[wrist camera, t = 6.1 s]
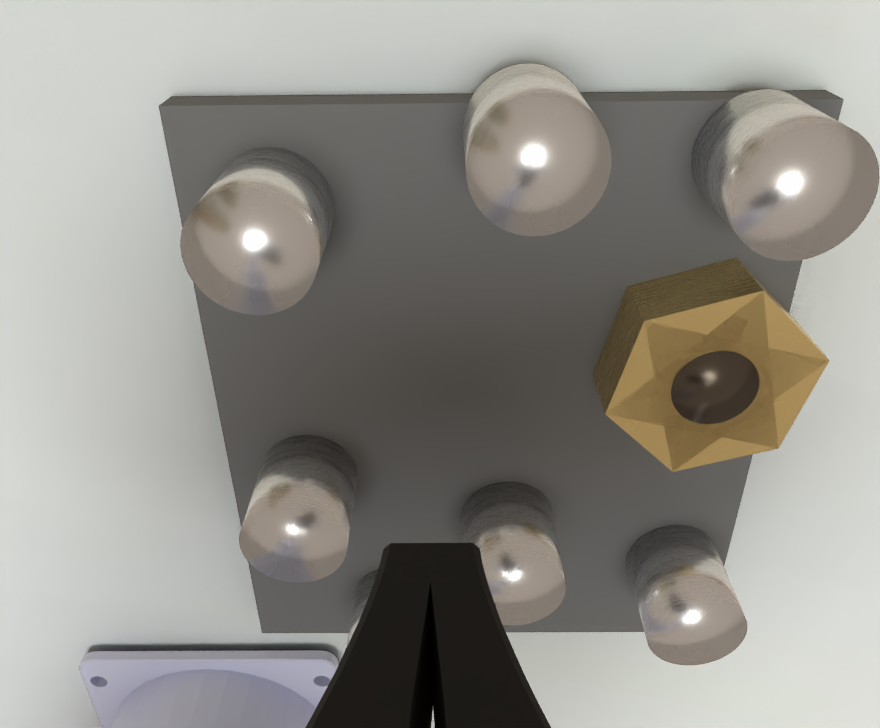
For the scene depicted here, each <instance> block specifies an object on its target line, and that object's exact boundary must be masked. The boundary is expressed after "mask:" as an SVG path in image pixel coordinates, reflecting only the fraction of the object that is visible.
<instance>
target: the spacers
mask: <svg viewBox="0 0 880 728" xmlns="http://www.w3.org/2000/svg"><path fill="white" fill-rule="evenodd" d="M463 142H464V154H465V167H466V179H467V184H468V188H469V191H470V194H471V196H472V198H473V200H474V202H475V204H476V206H477V207H478V209H479V210H480V211H481V212H482V214H483V215H484V216H485V217H486V218H487V219H488V220H490V221H491V222H492V223H493V224H495V225H496V226H498V227H500V228H502V229H504V230H506V231H508V232H511V233H514V234H518V235H523V236H545V235H550V234H554V233H557V232H560V231H563V230H565V229H567V228H569V227H571V226H573V225H574V224H576V223H578V222H579V221H580V220H582V219H583V218H584V217H585V216H586V215H587V214H588V213H589V212H590V211H591V210H592V209H593V208H594V207H595V206H596V204H597V203H598V201H599V200H600V198H601V197H602V195H603V193H604V191H605V189H606V186H607V183H608V180H609V177H610V171H611V159H612V158H611V148H610V144H609V139H608V137H607V134H606V132H605V130H604V128H603V126H602V124H601V123H600V121H599V120H598V118H597V117H596V115H595V114H594V113H593V111H592V110H591V108H590V107H589V105H588V104H587V102H586V101H585V100H584V98H583V97H582V95H581V94H580V92H579V91H578V90H577V88H576V87H575V86H574V84H573V83H572V82H571V81H570V80H569V79H568V78H567V77H566V76H564V75H563V74H562V73H560V72H558V71H557V70H555V69H553V68H550V67H547V66H544V65H539V64H530V63H526V64H517V65H513V66H509V67H506V68H504V69H502V70H500V71H498V72H496V73H494V74H493V75H491V76H490V77H489V78H487V79H486V80H485V81H484V82H483V83H482V84H481V85H480V86H479V87H478V89H477V90H476V91H475V93H474V94H473V96H472V97H471V99H470V101H469V103H468V106H467V108H466V111H465V115H464V120H463ZM691 170H692V175H693V179H694V182H695V184H696V186H697V188H698V190H699V191H700V192H701V194H702V195H703V196H704V197H705V199H706V200H707V201H708V202H709V203H710V204H711V205H712V207H713V208H714V209H715V210H716V211H717V212H718V213H719V215H720V216H721V217H722V218H723V219H724V220H725V221H726V223H727V224H728V225H729V226H730V227H731V228H732V229H733V231H734V232H735V233H736V234H737V235H738V236H739V238H740V239H741V240H742V241H743V242H744V243H745V244H746V245H747V246H748V247H749V248H750V249H751V250H753V251H754V252H756V253H758V254H760V255H762V256H764V257H767V258H770V259H774V260H780V261H795V260H802V259H807V258H811V257H814V256H817V255H819V254H822V253H824V252H826V251H828V250H830V249H832V248H834V247H835V246H837V245H838V244H840V243H841V242H842V241H844V240H845V239H846V238H847V237H849V236H850V235H851V234H852V233H853V232H854V231H855V230H856V229H857V228H858V226H859V225H860V224H861V223H862V221H863V220H864V219H865V217H866V215H867V214H868V212H869V210H870V208H871V206H872V204H873V202H874V199H875V197H876V194H877V189H878V184H879V166H878V162H877V158H876V155H875V153H874V151H873V149H872V147H871V146H870V144H869V143H868V142H867V140H866V139H865V138H864V137H863V136H861V135H860V134H859V133H858V132H856V131H854V130H853V129H851V128H849V127H847V126H846V125H844V124H842V123H840V122H838V121H837V120H835V119H833V118H831V117H830V116H828V115H826V114H824V113H823V112H821V111H819V110H817V109H815V108H814V107H812V106H810V105H808V104H807V103H805V102H803V101H801V100H800V99H798V98H796V97H794V96H792V95H791V94H789V93H786V92H783V91H779V90H773V89H761V90H754V91H749V92H746V93H743V94H740V95H738V96H736V97H734V98H732V99H731V100H729V101H727V102H726V103H724V104H723V105H722V106H720V107H719V108H718V109H717V110H716V111H715V112H714V113H713V114H712V115H711V116H710V117H709V118H708V119H707V121H706V122H705V123H704V125H703V126H702V128H701V129H700V131H699V133H698V135H697V137H696V140H695V143H694V146H693V150H692V157H691ZM334 217H335V203H334V197H333V194H332V190H331V188H330V186H329V184H328V182H327V180H326V179H325V177H324V175H323V174H322V173H321V172H320V170H319V169H318V168H317V167H316V166H315V165H314V164H313V163H311V162H310V161H309V160H308V159H306V158H304V157H303V156H301V155H299V154H297V153H295V152H293V151H290V150H287V149H282V148H277V147H262V148H257V149H252V150H250V151H247V152H245V153H243V154H241V155H239V156H238V157H237V158H235V159H234V160H233V161H232V162H231V163H230V164H229V165H228V166H227V167H226V169H225V170H224V171H223V172H222V173H221V175H220V176H219V177H218V178H217V180H216V181H215V182H214V183H213V185H212V186H211V187H210V188H209V190H208V191H207V192H206V193H205V194H204V196H203V197H202V198H201V199H200V201H199V202H198V203H197V204H196V206H195V207H194V208H193V209H192V211H191V212H190V214H189V215H188V217H187V219H186V221H185V223H184V226H183V229H182V233H181V254H182V259H183V262H184V265H185V267H186V270H187V272H188V274H189V275H190V277H191V279H192V280H193V282H194V283H195V284H196V286H197V287H198V288H199V289H200V290H201V291H202V292H203V293H204V294H205V295H206V296H207V297H209V298H210V299H211V300H213V301H214V302H216V303H217V304H219V305H221V306H223V307H225V308H227V309H230V310H232V311H235V312H239V313H243V314H249V315H267V314H272V313H277V312H280V311H283V310H285V309H287V308H289V307H291V306H293V305H294V304H296V303H297V302H298V301H299V300H300V299H302V298H303V297H304V295H305V294H306V293H307V292H308V290H309V289H310V287H311V285H312V283H313V281H314V279H315V276H316V273H317V270H318V267H319V264H320V261H321V258H322V255H323V252H324V250H325V247H326V244H327V241H328V238H329V235H330V232H331V229H332V226H333V222H334ZM357 479H358V472H357V467H356V464H355V462H354V460H353V458H352V457H351V455H350V454H349V453H348V452H347V451H346V450H345V449H344V448H343V447H342V446H340V445H339V444H337V443H336V442H334V441H332V440H329V439H327V438H324V437H320V436H315V435H296V436H291V437H288V438H285V439H283V440H281V441H279V442H277V443H276V444H275V445H273V446H272V447H271V448H270V449H269V451H268V452H267V453H266V455H265V457H264V460H263V463H262V466H261V469H260V472H259V475H258V479H257V482H256V485H255V488H254V491H253V494H252V497H251V500H250V503H249V506H248V510H247V513H246V516H245V519H244V522H243V525H242V528H241V532H240V538H239V541H240V547H241V550H242V552H243V555H244V556H245V558H246V559H247V561H248V562H249V563H250V564H251V565H252V566H253V567H254V568H256V569H257V570H259V571H260V572H262V573H263V574H265V575H267V576H269V577H272V578H275V579H278V580H282V581H286V582H297V583H301V582H311V581H315V580H319V579H322V578H324V577H326V576H328V575H330V574H332V573H333V572H335V571H336V570H337V569H338V568H339V567H340V565H341V564H342V563H343V561H344V559H345V556H346V552H347V546H348V539H349V533H350V526H351V519H352V512H353V506H354V499H355V492H356V486H357ZM461 543H474V544H475V545H476V546H477V547H479V548H480V552H481V558H482V563H483V567H484V571H485V575H486V578H487V582H488V585H489V588H490V591H491V594H492V597H493V600H494V603H495V606H496V609H497V611H498V614H499V617H500V619H501V622H502V625H512V626H513V625H524V624H529V623H533V622H536V621H538V620H541V619H543V618H545V617H546V616H548V615H550V614H551V613H552V612H553V611H555V610H556V609H557V608H558V606H559V605H560V604H561V602H562V600H563V598H564V596H565V591H566V585H565V579H564V574H563V568H562V562H561V557H560V551H559V546H558V540H557V534H556V529H555V523H554V517H553V512H552V507H551V504H550V502H549V500H548V499H547V497H546V496H545V495H544V494H543V493H542V492H541V491H539V490H538V489H536V488H534V487H533V486H530V485H528V484H524V483H521V482H513V481H505V482H497V483H493V484H489V485H487V486H484V487H482V488H480V489H478V490H477V491H475V492H474V493H473V494H472V495H471V496H470V497H469V498H468V499H467V500H466V502H465V503H464V506H463V508H462V511H461ZM626 565H627V569H628V573H629V577H630V580H631V584H632V588H633V591H634V595H635V599H636V602H637V606H638V609H639V613H640V617H641V620H642V624H643V628H644V631H645V635H646V639H647V642H648V645H649V647H650V649H651V651H652V652H653V653H654V654H655V655H656V656H658V657H659V658H661V659H663V660H665V661H667V662H670V663H674V664H679V665H699V664H705V663H709V662H712V661H715V660H718V659H720V658H722V657H724V656H726V655H728V654H729V653H731V652H732V651H733V650H735V649H736V648H737V647H738V646H739V645H740V644H741V642H742V641H743V639H744V638H745V635H746V632H747V621H746V618H745V616H744V614H743V611H742V609H741V606H740V604H739V602H738V599H737V597H736V594H735V592H734V590H733V587H732V585H731V583H730V580H729V578H728V575H727V573H726V571H725V568H724V566H723V563H722V561H721V559H720V556H719V554H718V552H717V549H716V547H715V544H714V542H713V540H712V539H711V537H710V536H709V535H708V534H706V533H705V532H704V531H702V530H700V529H698V528H696V527H692V526H688V525H667V526H662V527H659V528H656V529H653V530H651V531H649V532H647V533H645V534H643V535H642V536H641V537H639V538H638V539H637V540H636V541H635V542H634V543H633V544H632V546H631V547H630V549H629V551H628V553H627V557H626ZM377 572H378V569H377V570H374V571H372V572H370V573H368V574H367V575H365V576H364V577H363V578H362V579H361V580H360V581H359V582H358V584H357V585H356V588H355V591H354V598H353V606H352V613H351V621H350V629H349V637H348V644H349V642H350V640H351V637H352V635H353V633H354V631H355V629H356V627H357V624H358V622H359V620H360V617H361V615H362V613H363V610H364V608H365V605H366V603H367V600H368V598H369V595H370V592H371V590H372V587H373V584H374V581H375V578H376V575H377ZM348 644H347V646H348Z"/></svg>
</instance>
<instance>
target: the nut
mask: <svg viewBox="0 0 880 728" xmlns="http://www.w3.org/2000/svg"><path fill="white" fill-rule="evenodd" d="M828 362H829V360H828V358H827V357H826V356H825V355H824V354H823V352H822V351H821V350H820V349H819V348H818V346H817V345H816V344H815V343H814V342H813V340H812V339H811V338H810V337H809V336H808V334H807V333H806V332H805V331H804V330H803V328H802V327H801V326H800V325H799V324H798V323H797V321H796V320H795V319H794V318H793V317H792V316H791V315H790V314H789V313H788V312H787V311H786V310H785V309H784V308H783V307H782V306H781V304H780V303H779V302H778V301H777V300H776V299H775V298H774V297H773V296H772V295H771V294H770V293H769V292H768V291H767V290H766V288H765V287H764V286H763V285H762V284H761V283H760V282H759V281H758V280H757V279H756V278H755V277H754V276H753V275H752V274H751V273H750V271H749V270H748V269H747V268H746V267H745V266H744V265H743V264H742V263H741V262H740V261H739V260H738V259H737V258H732V259H729V260H725V261H721V262H717V263H713V264H710V265H706V266H702V267H698V268H695V269H691V270H687V271H683V272H679V273H676V274H672V275H668V276H664V277H661V278H657V279H653V280H649V281H645V282H642V283H638V284H634V285H630V286H628V287H627V289H626V292H625V294H624V297H623V299H622V302H621V304H620V307H619V309H618V312H617V314H616V317H615V319H614V322H613V324H612V327H611V329H610V332H609V335H608V337H607V340H606V342H605V345H604V347H603V350H602V352H601V355H600V357H599V360H598V362H597V365H596V367H595V370H594V372H593V377H594V380H595V383H596V386H597V390H598V393H599V396H600V399H601V402H602V406H603V409H604V412H605V415H607V416H608V417H609V418H610V419H611V420H612V421H614V422H615V423H616V424H617V425H618V426H619V427H621V428H622V429H623V430H624V431H625V432H626V433H628V434H629V435H630V436H631V437H632V438H634V439H635V440H636V441H637V442H638V443H639V444H641V445H642V446H643V447H644V448H645V449H646V450H648V451H649V452H650V453H651V454H652V455H653V456H655V457H656V458H657V459H658V460H659V461H660V462H662V463H663V464H664V465H665V466H666V467H667V468H669V469H670V470H671V471H672V472H675V471H680V470H684V469H688V468H693V467H697V466H702V465H706V464H711V463H715V462H720V461H724V460H729V459H733V458H737V457H742V456H746V455H751V454H755V453H760V452H764V451H769V450H773V449H778V448H779V446H780V445H781V443H782V441H783V439H784V438H785V436H786V434H787V433H788V431H789V429H790V427H791V426H792V424H793V422H794V420H795V419H796V417H797V415H798V414H799V412H800V410H801V408H802V407H803V405H804V403H805V402H806V400H807V398H808V396H809V395H810V393H811V391H812V389H813V388H814V386H815V384H816V383H817V381H818V379H819V377H820V376H821V374H822V372H823V371H824V369H825V367H826V365H827V364H828Z"/></svg>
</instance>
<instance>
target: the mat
mask: <svg viewBox="0 0 880 728" xmlns="http://www.w3.org/2000/svg"><path fill="white" fill-rule="evenodd" d="M746 92H749V91H697V92H595V93H580V94H581V95H582V97H583V98H584V100H585V101H586V102H587V104H588V105H589V107H590V108H591V110H592V111H593V113H594V114H595V115H596V117H597V118H598V120H599V121H600V123H601V124H602V126H603V128H604V130H605V132H606V134H607V137H608V139H609V144H610V148H611V158H612V159H611V171H610V177H609V180H608V183H607V186H606V189H605V191H604V193H603V195H602V197H601V198H600V200H599V201H598V203H597V204H596V206H595V207H594V208H593V209H592V210H591V211H590V212H589V213H588V214H587V215H586V216H585V217H584V218H583V219H582V220H580V221H579V222H578V223H576V224H574V225H573V226H571V227H569V228H567V229H565V230H563V231H560V232H557V233H554V234H550V235H545V236H523V235H518V234H514V233H511V232H508V231H506V230H504V229H502V228H500V227H498V226H496V225H495V224H493V223H492V222H491V221H490V220H488V219H487V218H486V217H485V216H484V215H483V214H482V212H481V211H480V210H479V209H478V207H477V206H476V204H475V202H474V200H473V198H472V196H471V194H470V191H469V188H468V184H467V179H466V167H465V154H464V142H463V120H464V115H465V111H466V108H467V106H468V103H469V101H470V99H471V97H472V96H473V94H391V95H288V96H186V97H170V98H169V99H168V100H166V101H165V102H163V103H162V104H161V105H159V110H160V115H161V120H162V125H163V130H164V135H165V141H166V146H167V151H168V156H169V161H170V166H171V171H172V176H173V181H174V186H175V191H176V197H177V202H178V207H179V212H180V217H181V222H182V227H183V226H184V223H185V221H186V219H187V217H188V215H189V214H190V212H191V211H192V209H193V208H194V207H195V206H196V204H197V203H198V202H199V201H200V199H201V198H202V197H203V196H204V194H205V193H206V192H207V191H208V190H209V188H210V187H211V186H212V185H213V183H214V182H215V181H216V180H217V178H218V177H219V176H220V175H221V173H222V172H223V171H224V170H225V169H226V167H227V166H228V165H229V164H230V163H231V162H232V161H233V160H234V159H235V158H237V157H238V156H239V155H241V154H243V153H245V152H247V151H250V150H252V149H257V148H262V147H277V148H282V149H287V150H290V151H293V152H295V153H297V154H299V155H301V156H303V157H304V158H306V159H308V160H309V161H310V162H311V163H313V164H314V165H315V166H316V167H317V168H318V169H319V170H320V172H321V173H322V174H323V175H324V177H325V179H326V180H327V182H328V184H329V186H330V188H331V190H332V194H333V197H334V203H335V217H334V222H333V226H332V229H331V232H330V235H329V238H328V241H327V244H326V247H325V250H324V252H323V255H322V258H321V261H320V264H319V267H318V270H317V273H316V276H315V279H314V281H313V283H312V285H311V287H310V289H309V290H308V292H307V293H306V294H305V295H304V297H303V298H302V299H300V300H299V301H298V302H297V303H296V304H294V305H293V306H291V307H289V308H287V309H285V310H283V311H280V312H277V313H272V314H267V315H249V314H243V313H239V312H235V311H232V310H230V309H227V308H225V307H223V306H221V305H219V304H217V303H216V302H214V301H213V300H211V299H210V298H209V297H207V296H206V295H205V294H204V293H203V292H202V291H201V290H200V289H199V288H198V287H197V286H196V284H195V283H194V282H193V283H194V288H195V293H196V298H197V303H198V309H199V314H200V319H201V324H202V329H203V334H204V339H205V344H206V349H207V354H208V359H209V365H210V370H211V375H212V380H213V385H214V390H215V395H216V400H217V405H218V410H219V415H220V421H221V426H222V431H223V436H224V441H225V446H226V451H227V456H228V461H229V466H230V471H231V477H232V482H233V487H234V492H235V497H236V502H237V507H238V512H239V517H240V522H241V527H242V525H243V522H244V519H245V516H246V513H247V510H248V506H249V503H250V500H251V497H252V494H253V491H254V488H255V485H256V482H257V479H258V475H259V472H260V469H261V466H262V463H263V460H264V457H265V455H266V453H267V452H268V451H269V449H270V448H271V447H272V446H273V445H275V444H276V443H277V442H279V441H281V440H283V439H285V438H288V437H291V436H296V435H315V436H320V437H324V438H327V439H329V440H332V441H334V442H336V443H337V444H339V445H340V446H342V447H343V448H344V449H345V450H346V451H347V452H348V453H349V454H350V455H351V457H352V458H353V460H354V462H355V464H356V467H357V472H358V479H357V486H356V492H355V499H354V506H353V512H352V519H351V526H350V533H349V539H348V546H347V552H346V556H345V559H344V561H343V563H342V564H341V565H340V567H339V568H338V569H337V570H336V571H335V572H333V573H332V574H330V575H328V576H326V577H324V578H322V579H319V580H315V581H311V582H301V583H297V582H286V581H282V580H278V579H275V578H272V577H269V576H267V575H265V574H263V573H262V572H260V571H259V570H257V569H256V568H254V567H253V566H252V565H251V564H250V563H249V562H248V563H249V568H250V573H251V578H252V583H253V589H254V594H255V599H256V604H257V609H258V614H259V619H260V624H261V629H262V633H349V629H350V621H351V613H352V606H353V598H354V591H355V588H356V585H357V584H358V582H359V581H360V580H361V579H362V578H363V577H364V576H365V575H367V574H368V573H370V572H372V571H374V570H377V569H378V568H379V565H380V562H381V557H382V553H383V549H384V548H385V547H386V546H388V545H389V544H390V543H461V511H462V508H463V506H464V503H465V502H466V500H467V499H468V498H469V497H470V496H471V495H472V494H473V493H474V492H475V491H477V490H478V489H480V488H482V487H484V486H487V485H489V484H493V483H497V482H505V481H513V482H521V483H524V484H528V485H530V486H533V487H534V488H536V489H538V490H539V491H541V492H542V493H543V494H544V495H545V496H546V497H547V499H548V500H549V502H550V504H551V507H552V512H553V517H554V523H555V529H556V534H557V540H558V546H559V551H560V557H561V562H562V568H563V574H564V579H565V585H566V591H565V596H564V598H563V600H562V602H561V604H560V605H559V606H558V608H557V609H556V610H555V611H553V612H552V613H551V614H550V615H548V616H546V617H545V618H543V619H541V620H538V621H536V622H533V623H529V624H524V625H513V626H512V625H503V627H504V629H505V632H645V631H644V628H643V624H642V620H641V617H640V613H639V609H638V606H637V602H636V599H635V595H634V591H633V588H632V584H631V580H630V577H629V573H628V569H627V565H626V557H627V553H628V551H629V549H630V547H631V546H632V544H633V543H634V542H635V541H636V540H637V539H638V538H639V537H641V536H642V535H643V534H645V533H647V532H649V531H651V530H653V529H656V528H659V527H662V526H667V525H688V526H692V527H696V528H698V529H700V530H702V531H704V532H705V533H706V534H708V535H709V536H710V537H711V539H712V540H713V542H714V544H715V547H716V549H717V552H718V554H719V556H720V559H721V561H722V563H723V566H724V564H725V560H726V556H727V552H728V548H729V545H730V541H731V537H732V533H733V529H734V525H735V521H736V517H737V513H738V509H739V505H740V502H741V498H742V494H743V490H744V486H745V482H746V478H747V474H748V470H749V466H750V463H751V459H752V455H753V454H751V455H746V456H742V457H737V458H733V459H729V460H724V461H720V462H715V463H711V464H706V465H702V466H697V467H693V468H688V469H684V470H680V471H675V472H672V471H671V470H670V469H669V468H667V467H666V466H665V465H664V464H663V463H662V462H660V461H659V460H658V459H657V458H656V457H655V456H653V455H652V454H651V453H650V452H649V451H648V450H646V449H645V448H644V447H643V446H642V445H641V444H639V443H638V442H637V441H636V440H635V439H634V438H632V437H631V436H630V435H629V434H628V433H626V432H625V431H624V430H623V429H622V428H621V427H619V426H618V425H617V424H616V423H615V422H614V421H612V420H611V419H610V418H609V417H608V416H607V415H605V412H604V409H603V406H602V402H601V399H600V396H599V393H598V390H597V386H596V383H595V380H594V377H593V372H594V370H595V367H596V365H597V362H598V360H599V357H600V355H601V352H602V350H603V347H604V345H605V342H606V340H607V337H608V335H609V332H610V329H611V327H612V324H613V322H614V319H615V317H616V314H617V312H618V309H619V307H620V304H621V302H622V299H623V297H624V294H625V292H626V289H627V287H628V286H630V285H634V284H638V283H642V282H645V281H649V280H653V279H657V278H661V277H664V276H668V275H672V274H676V273H679V272H683V271H687V270H691V269H695V268H698V267H702V266H706V265H710V264H713V263H717V262H721V261H725V260H729V259H732V258H737V259H738V260H739V261H740V262H741V263H742V264H743V265H744V266H745V267H746V268H747V269H748V270H749V271H750V273H751V274H752V275H753V276H754V277H755V278H756V279H757V280H758V281H759V282H760V283H761V284H762V285H763V286H764V287H765V288H766V290H767V291H768V292H769V293H770V294H771V295H772V296H773V297H774V298H775V299H776V300H777V301H778V302H779V303H780V304H781V306H782V307H783V308H784V309H785V310H786V311H787V312H788V313H789V310H790V306H791V302H792V299H793V295H794V291H795V287H796V283H797V279H798V275H799V271H800V267H801V263H802V260H795V261H780V260H774V259H770V258H767V257H764V256H762V255H760V254H758V253H756V252H754V251H753V250H751V249H750V248H749V247H748V246H747V245H746V244H745V243H744V242H743V241H742V240H741V239H740V238H739V236H738V235H737V234H736V233H735V232H734V231H733V229H732V228H731V227H730V226H729V225H728V224H727V223H726V221H725V220H724V219H723V218H722V217H721V216H720V215H719V213H718V212H717V211H716V210H715V209H714V208H713V207H712V205H711V204H710V203H709V202H708V201H707V200H706V199H705V197H704V196H703V195H702V194H701V192H700V191H699V190H698V188H697V186H696V184H695V182H694V179H693V175H692V170H691V157H692V150H693V146H694V143H695V140H696V137H697V135H698V133H699V131H700V129H701V128H702V126H703V125H704V123H705V122H706V121H707V119H708V118H709V117H710V116H711V115H712V114H713V113H714V112H715V111H716V110H717V109H718V108H719V107H720V106H722V105H723V104H724V103H726V102H727V101H729V100H731V99H732V98H734V97H736V96H738V95H740V94H743V93H746ZM783 92H786V93H789V94H791V95H792V96H794V97H796V98H798V99H800V100H801V101H803V102H805V103H807V104H808V105H810V106H812V107H814V108H815V109H817V110H819V111H821V112H823V113H824V114H826V115H828V116H830V117H831V118H833V119H835V120H837V121H838V119H839V115H840V111H841V107H842V103H843V99H842V98H840V97H838V96H836V95H834V94H832V93H830V92H828V91H826V90H800V91H783Z"/></svg>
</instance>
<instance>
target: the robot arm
mask: <svg viewBox="0 0 880 728" xmlns="http://www.w3.org/2000/svg"><path fill="white" fill-rule="evenodd" d="M79 670H80V673H81V675H82V678H83V681H84V683H85V686H86V688H87V691H88V693H89V696H90V698H91V701H92V703H93V706H94V708H95V711H96V713H97V716H98V718H99V721H100V723H101V726H102V728H431V720H432V710H434V722H435V728H551V727H550V725H549V723H548V721H547V719H546V717H545V715H544V713H543V711H542V709H541V708H540V706H539V704H538V702H537V700H536V698H535V696H534V694H533V692H532V690H531V688H530V686H529V683H528V681H527V679H526V677H525V675H524V673H523V671H522V669H521V666H520V664H519V662H518V660H517V657H516V655H515V653H514V650H513V648H512V646H511V644H510V641H509V639H508V637H507V634H506V632H505V629H504V627H503V625H502V622H501V619H500V617H499V614H498V611H497V609H496V606H495V603H494V600H493V597H492V594H491V591H490V588H489V585H488V582H487V578H486V575H485V571H484V567H483V563H482V558H481V552H480V548H479V547H477V546H476V545H475V544H474V543H390V544H389V545H388V546H386V547H385V548H384V549H383V553H382V557H381V562H380V565H379V568H378V572H377V575H376V578H375V581H374V584H373V587H372V590H371V592H370V595H369V598H368V600H367V603H366V605H365V608H364V610H363V613H362V615H361V617H360V620H359V622H358V624H357V627H356V629H355V631H354V633H353V635H352V637H351V640H350V642H349V644H348V646H347V648H346V651H345V653H344V655H343V657H342V659H341V661H340V663H339V665H338V660H337V658H336V656H334V655H333V654H332V653H330V652H328V651H322V650H294V651H93V652H89V653H87V654H85V655H84V657H83V659H82V661H81V663H80V665H79Z"/></svg>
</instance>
